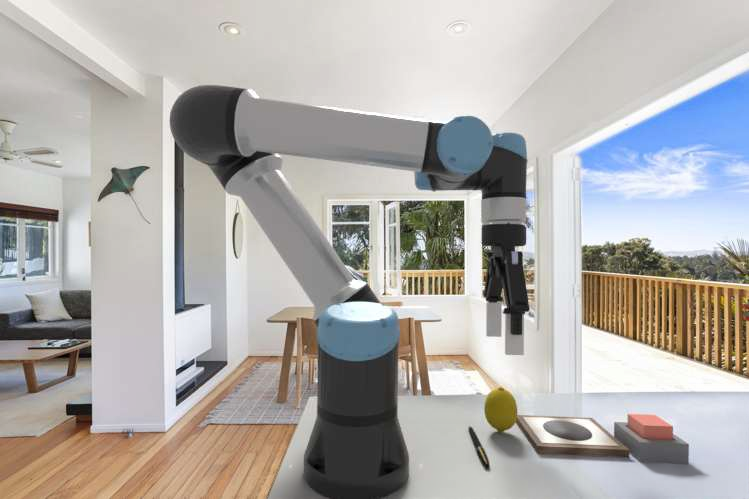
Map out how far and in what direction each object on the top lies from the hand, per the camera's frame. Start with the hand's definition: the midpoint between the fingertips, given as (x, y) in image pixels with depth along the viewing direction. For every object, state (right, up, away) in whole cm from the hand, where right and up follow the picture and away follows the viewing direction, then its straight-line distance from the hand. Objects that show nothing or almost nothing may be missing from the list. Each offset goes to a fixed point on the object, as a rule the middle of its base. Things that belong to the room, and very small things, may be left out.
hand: (503, 344), depth 70 cm
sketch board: (+10, -16, -2) cm, 19 cm away
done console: (+22, -16, -6) cm, 27 cm away
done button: (+22, -13, -6) cm, 26 cm away
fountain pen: (-6, -16, -5) cm, 18 cm away
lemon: (0, -16, 0) cm, 16 cm away
